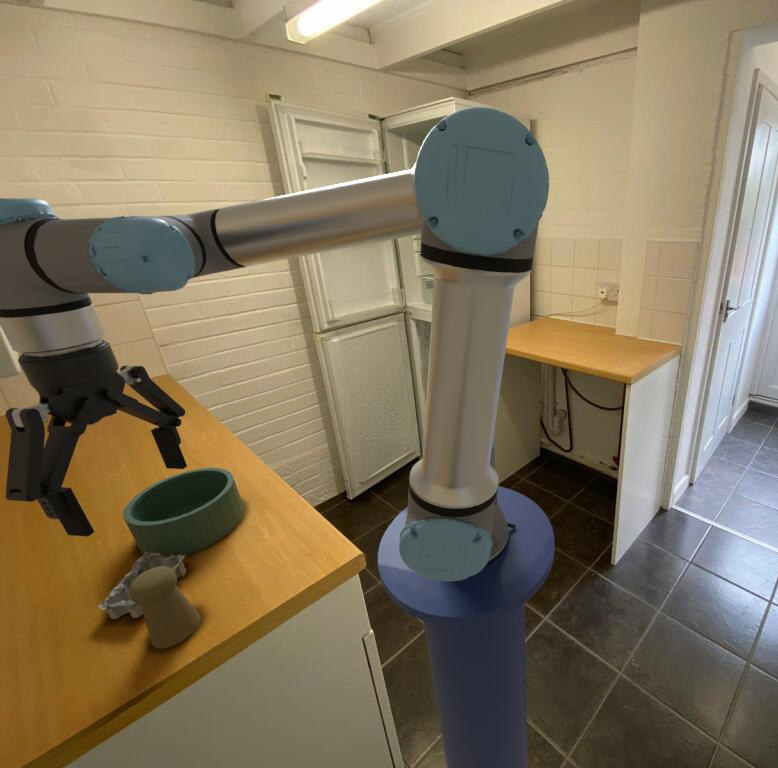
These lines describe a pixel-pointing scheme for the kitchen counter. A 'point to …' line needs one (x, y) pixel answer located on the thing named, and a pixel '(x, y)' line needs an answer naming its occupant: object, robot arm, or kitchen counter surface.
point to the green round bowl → (185, 512)
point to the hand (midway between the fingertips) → (134, 497)
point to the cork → (164, 607)
